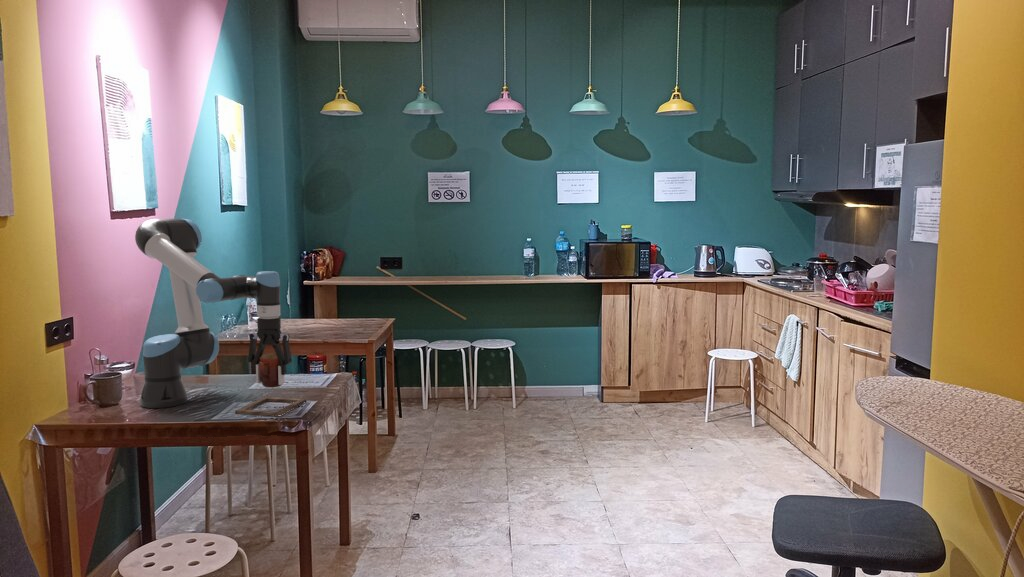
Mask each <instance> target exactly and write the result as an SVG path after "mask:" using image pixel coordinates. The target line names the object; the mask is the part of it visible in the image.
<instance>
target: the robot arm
mask: <svg viewBox="0 0 1024 577" xmlns="http://www.w3.org/2000/svg"><path fill="white" fill-rule="evenodd" d="M134 237H135V238H134V239H135V240H134V241H135V244H136V246H137V247H138V250H140V252H142V254H144V255H146V257H148V258H149V259H152V260H153V259H154V260H156V261H158V262H159V263H161V264H162V265H163V266H165V267H166V268H168V271H169V278H170V283H171V289H172V295H173V302H174V306H175V315H176V319H177V325H178V326H177V329H176V330H175V332H174V333H166V334H158V335H155V336H152V337H149V338H147V339H146V340H145V341H144V343H143V345H142V346H143V349H142V351H143V352H142V356H143V369H144V370H143V371H144V373H143V374H144V384H143V387H142V391H141V396H140V398H139V403H140V404H139V405H140V407H142V408H147V409H148V408H149V409H163V408H171V407H175V406H181V405H184V404H185V403H187V402H188V397H189V395H188V392H187V389H186V388H185V385H184V383H183V380H182V370H186V369H190V368H191V369H192V368H196V367H200V366H202V367H203V366H204V365H205V366H206V365H209V364H210V363H212V362H213V361H214V360H216V357H217V356H218V354H219V351H220V342H219V339H218V336H216V334H215V333H214V332H212V331H210V327H209V326H208V325H207V324H205V323H204V316H203V309H202V305H201V303H205V304H206V303H209V304H210V303H212V304H214V303H217V302H225V301H232V300H240V299H256V313H257V314H256V316H257V317H258V318H257V320H256V321H257V326H256V327H257V331H256V332H252V333H250V334H249V335H248V337H249V348H248V356H247V362H248V363H252V364H253V373H254V374H255V383H256V384H260V383H261V384H262V381H261V376H260V373H259V365H260V360H259V357H262V355H264V351H265V348H266V346H267V345H269V346H271V347H272V348H273V350H274V352H275V354H276V355H277V357H278V360H279V362H280V365H279V366H278V381H279V385H281V386H282V385H284V384H285V375H286V374H287V365H289V364H291V363H292V362H293V360H292V354H291V353H292V352H291V347H290V341H289V340H290V334H288V333H287V334H284V333H282V331H281V328H282V326H281V325H282V324H281V317H280V316H281V280H280V274H279V272H277V271H274V270H271V271H269V270H266V271H265V270H263V271H257V272H256V276H253V275H252V276H251V275H245V274H242V275H241V274H240V275H238V274H236V275H234V276H232V277H220V276H218V275H216V274H215V272H212V271H211V270H210V269H208V268H207V267H206V266H204V265H203V264H201V263H200V262H199V261H198V260H196V259H195V257H196V256H197V254H198V251H197V250H198V249H199V248H200V246H201V245H202V244H201V243H202V241H203V240H202V239H203V238H202V232H201V229H200V228H199V225H198V224H196V223H195V222H194V221H193V220H191V219H187V218H180V217H179V218H152V219H148V220H145V221H143V222H142V223H141V224H139V226H138V227H137V229H136V231H135V235H134ZM258 339H259V343H258ZM280 339H281V342H282V343H281V342H280ZM257 343H258V347H257ZM281 344H282V346H281Z"/></svg>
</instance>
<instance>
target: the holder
mask: <svg viewBox="0 0 1024 577" xmlns="http://www.w3.org/2000/svg"><path fill="white" fill-rule="evenodd" d="M270 401H272V403H273V402H274V403H275V402H276V403H289V402H292V403H289V404H288V405H287V406H285V407H283V408H281V409H279V410H276V411H275V410H257V409H253V408H256V407H258V406H260V405H262V404H264V403H266V402H270ZM293 402H294V403H293ZM304 402H305V403H306V402H307V398H296V397H295V398H294V397H293V398H291V397H276V396H275V397H273V396H270V397H269V396H263V397H261V398H259V399H257V400H255V401H252V402H251V403H249V404H246V405H245V406H242V407H241V408H238V409H235V411H234V413H236V414H235V415H248V414H250V415H251V416H265V415H274V416H273V417H279V416H278V415H282V414H283V415H285V414H287V413H288V412H287V411H289V410H291V409H292V410H294V409H296V408H298V407H300V406H301V405H303V404H305V403H304ZM299 405H300V406H299ZM297 406H298V407H297ZM295 407H296V408H295ZM293 408H294V409H293ZM292 410H291V411H292ZM286 412H287V413H286ZM289 412H290V411H289ZM284 413H285V414H284ZM250 415H249V416H250ZM275 415H277V416H275ZM283 415H282V416H283Z"/></svg>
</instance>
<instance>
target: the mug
mask: <svg viewBox="0 0 1024 577" xmlns="http://www.w3.org/2000/svg"><path fill="white" fill-rule="evenodd" d="M259 360H260V365H259V373H260V376H261V381H262V382H261V386H263V387H265V388H278V387H281V386H282V385H279V381H278V366H279V365H280V362H279V360H278V357H277V355H276V353H266V354H262V357H259Z"/></svg>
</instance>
